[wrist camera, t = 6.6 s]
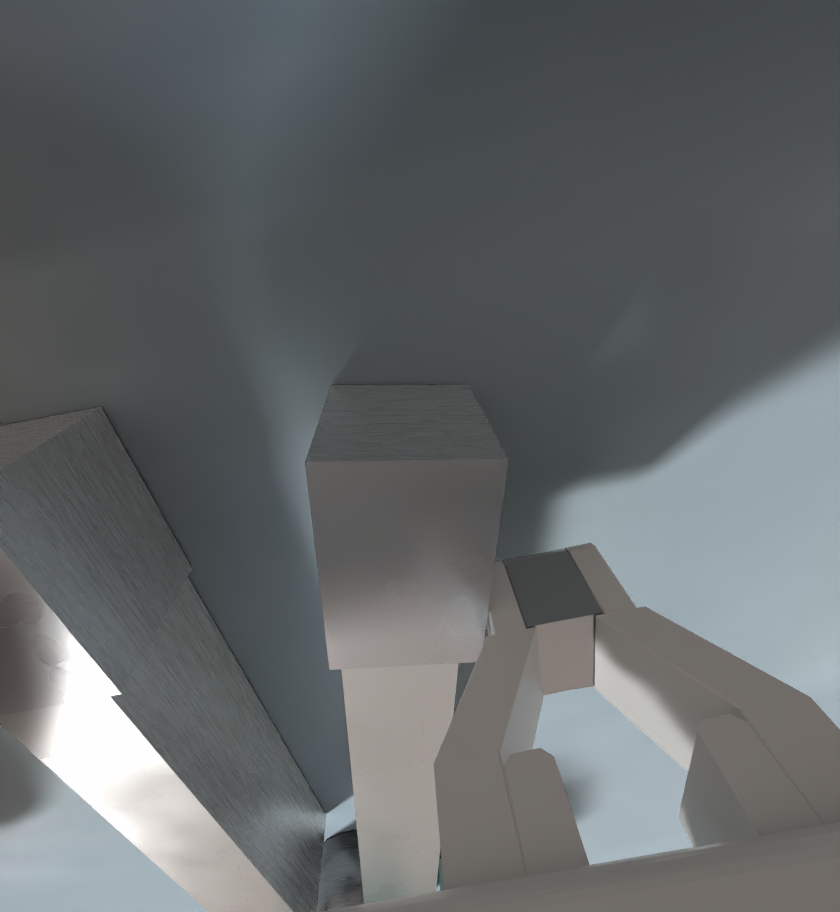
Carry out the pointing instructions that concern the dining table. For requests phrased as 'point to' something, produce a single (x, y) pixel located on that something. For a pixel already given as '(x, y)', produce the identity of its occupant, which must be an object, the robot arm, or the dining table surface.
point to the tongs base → (146, 682)
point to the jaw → (402, 597)
